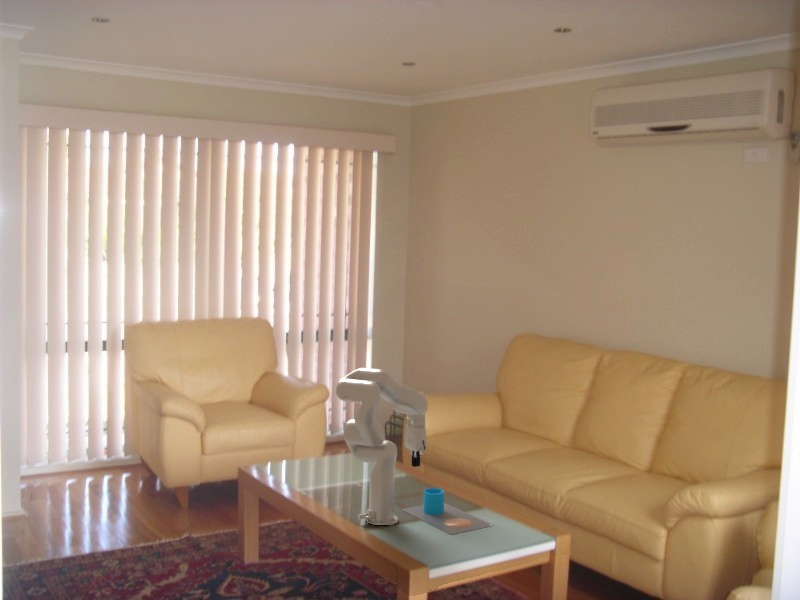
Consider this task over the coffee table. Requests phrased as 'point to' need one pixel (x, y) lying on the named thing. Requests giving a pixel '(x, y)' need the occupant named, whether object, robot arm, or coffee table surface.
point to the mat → (449, 519)
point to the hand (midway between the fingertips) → (415, 465)
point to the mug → (433, 501)
